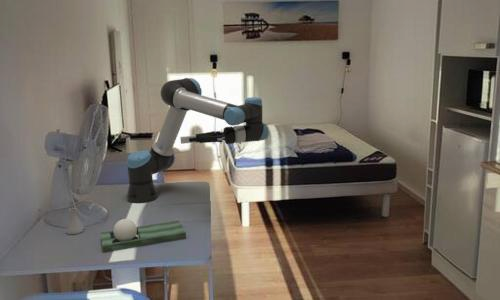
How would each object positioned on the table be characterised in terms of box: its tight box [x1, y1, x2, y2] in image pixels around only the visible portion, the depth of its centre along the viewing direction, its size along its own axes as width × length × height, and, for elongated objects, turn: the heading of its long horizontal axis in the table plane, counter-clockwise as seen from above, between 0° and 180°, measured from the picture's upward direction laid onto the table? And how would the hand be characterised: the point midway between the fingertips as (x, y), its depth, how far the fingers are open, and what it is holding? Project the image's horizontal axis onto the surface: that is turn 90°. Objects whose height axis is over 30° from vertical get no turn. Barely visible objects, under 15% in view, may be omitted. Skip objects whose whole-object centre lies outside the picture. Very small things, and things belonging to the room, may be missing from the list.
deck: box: [100, 220, 187, 253], centre depth 192 cm, size 14×32×2 cm, turn 109°
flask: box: [65, 207, 85, 235], centre depth 201 cm, size 7×7×10 cm
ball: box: [112, 218, 138, 242], centre depth 189 cm, size 9×9×9 cm
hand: (180, 140), depth 203 cm, fingers closed
